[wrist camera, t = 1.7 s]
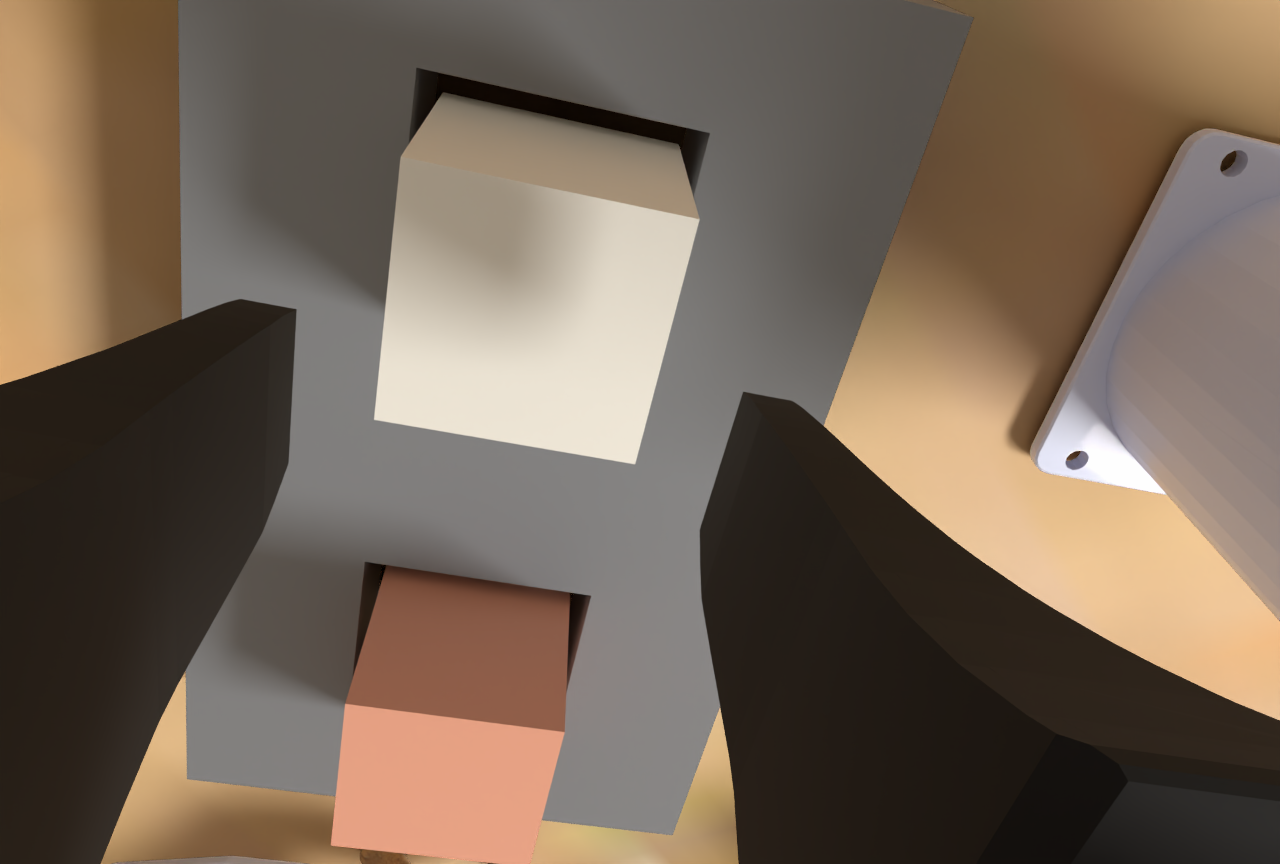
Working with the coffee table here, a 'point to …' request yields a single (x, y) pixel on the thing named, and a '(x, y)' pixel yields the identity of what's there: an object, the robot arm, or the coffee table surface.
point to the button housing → (505, 472)
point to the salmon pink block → (453, 718)
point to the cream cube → (532, 279)
